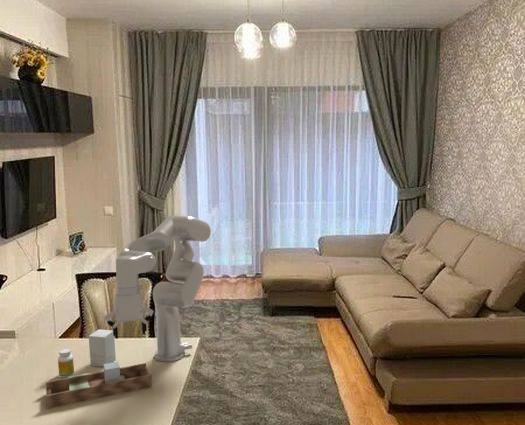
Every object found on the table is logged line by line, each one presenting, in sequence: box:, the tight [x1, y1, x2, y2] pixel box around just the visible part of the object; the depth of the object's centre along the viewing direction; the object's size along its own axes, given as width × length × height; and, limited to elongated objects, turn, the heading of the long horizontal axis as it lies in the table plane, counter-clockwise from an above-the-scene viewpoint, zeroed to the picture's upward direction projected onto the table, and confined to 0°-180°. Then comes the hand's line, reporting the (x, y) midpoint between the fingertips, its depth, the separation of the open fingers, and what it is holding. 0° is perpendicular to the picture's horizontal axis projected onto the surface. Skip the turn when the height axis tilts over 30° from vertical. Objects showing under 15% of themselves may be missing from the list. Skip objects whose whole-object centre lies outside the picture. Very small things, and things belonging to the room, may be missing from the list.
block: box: [103, 361, 121, 383], centre depth 174 cm, size 5×5×6 cm
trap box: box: [45, 362, 153, 410], centre depth 172 cm, size 35×11×5 cm, turn 114°
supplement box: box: [88, 329, 117, 368], centre depth 194 cm, size 7×7×13 cm
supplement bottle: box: [57, 348, 75, 379], centre depth 184 cm, size 5×5×10 cm
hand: (130, 335), depth 175 cm, fingers open, 9 cm apart
